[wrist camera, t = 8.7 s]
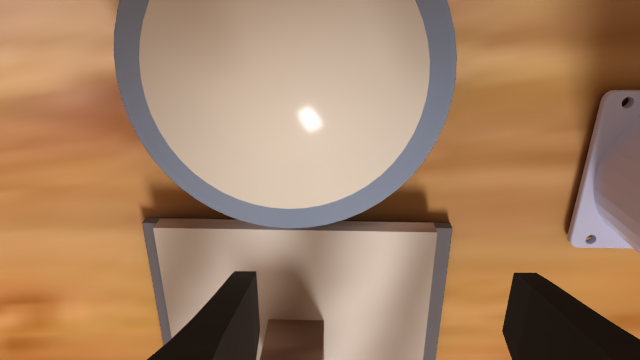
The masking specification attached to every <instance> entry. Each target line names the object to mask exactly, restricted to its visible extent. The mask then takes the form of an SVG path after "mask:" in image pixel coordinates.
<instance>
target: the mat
mask: <svg viewBox="0 0 640 360" xmlns="http://www.w3.org/2000/svg"><path fill="white" fill-rule="evenodd" d="M160 219H198V218H146V219H145V220H144V222H143V223H142V224H143V230H144V236H145V241H146V247H147V253H148V258H149V264H150V270H151V275H152V281H153V287H154V292H155V298H156V304H157V309H158V315H159V321H160V326H161V332H162V338H163V343H164V345H165V344H166V343H167V342H168V341H170V340H171V339H172V337H171V331H170V325H169V319H168V314H167V308H166V302H165V296H164V290H163V284H162V278H161V272H160V266H159V260H158V254H157V248H156V243H155V237H154V231H153V227H154V226H155V225H156V224H157V222H158V221H159V220H160ZM224 220H238V219H224ZM356 222H375V221H356ZM422 223H434V222H422ZM434 226H435V228H436V230H437V240H436V249H435V258H434V267H433V275H432V284H431V293H430V302H429V311H428V320H427V329H426V337H425V346H424V355H423V360H435V359H436V352H437V344H438V336H439V328H440V321H441V313H442V305H443V298H444V290H445V282H446V275H447V267H448V259H449V252H450V244H451V236H452V226H451V224H450V223H434Z"/></svg>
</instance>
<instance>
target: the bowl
mask: <svg viewBox="0 0 640 360" xmlns="http://www.w3.org/2000/svg"><path fill="white" fill-rule="evenodd" d="M114 60H115V69H116V78H117V82H118V86H119V90H120V94H121V98H122V101H123V104H124V107H125V110H126V112H127V115H128V118H129V120H130V122H131V124H132V126H133V128H134V130H135V132H136V134H137V136H138V138H139V140H140V141H141V143H142V144H143V146H144V147H145V149H146V150H147V152H148V153H149V155H150V156H151V157H152V159H153V160H154V161H155V162H156V163H157V165H158V166H159V167H160V168H161V169H162V170H163V172H164V173H165V174H166V175H167V176H168V177H169V178H171V179H172V180H173V181H174V182H175V183H176V184H177V185H178V186H179V187H180V188H182V189H183V190H184V191H186V192H187V193H188V194H190V195H191V196H192V197H194V198H195V199H196V200H198V201H200V202H202V203H203V204H205V205H207V206H208V207H210V208H212V209H214V210H216V211H218V212H220V213H223V214H225V215H227V216H229V217H232V218H235V219H238V220H241V221H245V222H248V223H252V224H257V225H262V226H267V227H277V228H308V227H315V226H321V225H327V224H331V223H334V222H338V221H341V220H345V219H347V218H350V217H352V216H355V215H357V214H359V213H362V212H364V211H366V210H368V209H369V208H371V207H373V206H375V205H376V204H378V203H380V202H381V201H383V200H384V199H386V198H387V197H388V196H390V195H391V194H392V193H394V192H395V191H396V190H397V189H399V188H400V187H401V186H402V185H403V184H404V183H405V182H406V181H407V180H408V179H409V178H410V177H411V176H412V175H413V174H414V173H415V171H416V170H417V169H418V168H419V166H420V165H421V164H422V163H423V162H424V160H425V159H426V157H427V156H428V154H429V152H430V151H431V149H432V148H433V146H434V144H435V143H436V141H437V139H438V136H439V134H440V132H441V130H442V128H443V126H444V124H445V121H446V118H447V114H448V111H449V108H450V105H451V102H452V96H453V91H454V85H455V80H456V61H457V54H456V41H455V31H454V27H453V22H452V17H451V13H450V8H449V6H448V3H447V0H120V2H119V6H118V10H117V17H116V24H115V30H114Z"/></svg>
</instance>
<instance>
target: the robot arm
mask: <svg viewBox="0 0 640 360" xmlns="http://www.w3.org/2000/svg"><path fill="white" fill-rule="evenodd" d="M626 97H628V98H629V101H628V103H627V104H626V105H625V106H622V101H623V100H624V99H625V98H626ZM589 235H592V237H591V238H590V239H589V240H585V239H586V238H587V237H588V236H589ZM567 239H568V241H569V242H570V243H571V244H572V245H573V246H574V247H588V248H634V249H635V250H636V251H637V252H639V253H640V90H611V91H609V92H607V93H605V95H604V96H603V97H602V99H601V101H600V106H599V110H598V114H597V118H596V122H595V126H594V130H593V134H592V138H591V142H590V146H589V150H588V154H587V158H586V162H585V167H584V171H583V175H582V179H581V183H580V187H579V191H578V195H577V199H576V203H575V207H574V211H573V215H572V219H571V224H570V228H569V232H568V236H567ZM502 332H503V335H504V337H505V340H506V343H507V346H508V349H509V352H510V355H511V357H512V360H640V339H638V338H636V337H635V336H633V335H631V334H630V333H628V332H626V331H625V330H623V329H621V328H620V327H618V326H617V325H615V324H613V323H612V322H610V321H609V320H607V319H606V318H604V317H603V316H601V315H600V314H598V313H597V312H595V311H593V310H592V309H590V308H589V307H587V306H586V305H584V304H583V303H582V302H580V301H579V300H577V299H576V298H574V297H573V296H571V295H570V294H568V293H567V292H565V291H564V290H562V289H561V288H559V287H558V286H556V285H555V284H553V283H552V282H550V281H549V280H547V279H545V278H544V277H542V276H540V275H539V274H537V273H514V275H513V280H512V285H511V290H510V295H509V300H508V305H507V310H506V315H505V320H504V325H503V330H502ZM259 335H260V319H259V304H258V289H257V274H256V271H234V272H233V273H232V274H231V275H230V276H229V278H228V279H227V280H226V281H225V282H224V284H223V285H222V286H221V287H220V288H219V290H218V291H217V292H216V293H215V294H214V295H213V296H212V298H211V299H210V300H209V301H208V302H207V303H206V304H205V305H204V306H203V307H202V309H201V310H200V311H199V312H198V313H197V314H196V315H195V316H194V317H193V318H192V319H191V320H190V321H189V322H188V323H187V324H186V325H185V326H184V327H183V328H182V329H181V330H180V331H179V332H178V333H177V334H176V335H175V336H174V337H173V338H172V339H171V340H170V341H168V342H167V343H166V344H165V345H164V346H163V347H162V348H160V349H159V350H158V351H157V352H156V353H155V354H153V355H152V356H151V357H150V358H148V359H147V360H256V357H257V350H258V343H259Z"/></svg>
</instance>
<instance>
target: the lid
mask: <svg viewBox="0 0 640 360" xmlns="http://www.w3.org/2000/svg"><path fill="white" fill-rule="evenodd" d="M153 231H154V237H155V243H156V248H157V254H158V260H159V266H160V272H161V278H162V284H163V290H164V296H165V302H166V308H167V314H168V319H169V325H170V331H171V337H172V338H173V337H174V336H175V335H176V334H177V333H178V332H179V331H180V330H181V329H182V328H183V327H184V326H185V325H186V324H187V323H188V322H189V321H190V320H191V319H192V318H193V317H194V316H195V315H196V314H197V313H198V312H199V311H200V310H201V309H202V307H203V306H204V305H205V304H206V303H207V302H208V301H209V300H210V299H211V298H212V296H213V295H214V294H215V293H216V292H217V291H218V290H219V288H220V287H221V286H222V285H223V284H224V282H225V281H226V280H227V279H228V278H229V276H230V275H231V274H232V273H233V272H234V271H256V274H257V289H258V304H259V319H260V335H259V343H258V350H257V357H256V360H423V355H424V346H425V337H426V329H427V320H428V311H429V302H430V293H431V284H432V275H433V267H434V258H435V249H436V240H437V230H436V228H435V226H434V223H422V222H356V221H338V222H334V223H331V224H327V225H321V226H315V227H308V228H277V227H267V226H262V225H257V224H252V223H248V222H245V221H241V220H224V219H160V220H159V221H158V222H157V224H156V225H155V226H154V227H153Z"/></svg>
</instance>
